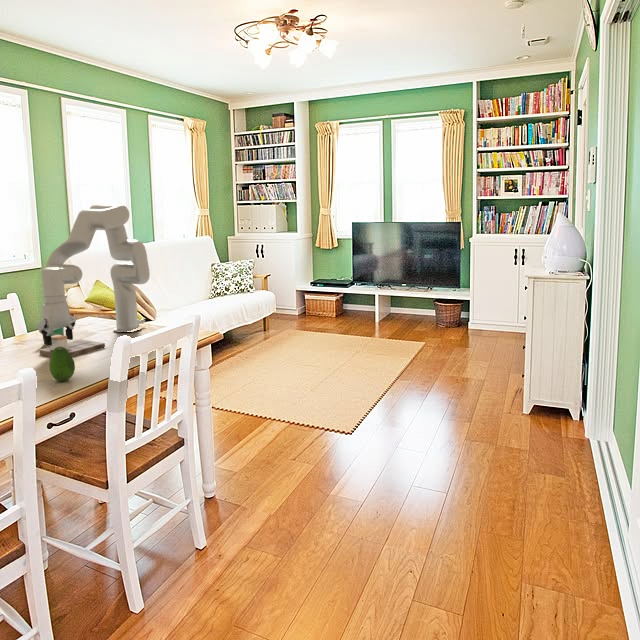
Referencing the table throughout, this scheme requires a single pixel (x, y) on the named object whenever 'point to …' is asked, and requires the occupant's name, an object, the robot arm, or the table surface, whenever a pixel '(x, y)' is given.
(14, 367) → the table surface
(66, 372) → the avocado
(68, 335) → the robot arm
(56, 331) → the food container
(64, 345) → the beige small block
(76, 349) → the panel
